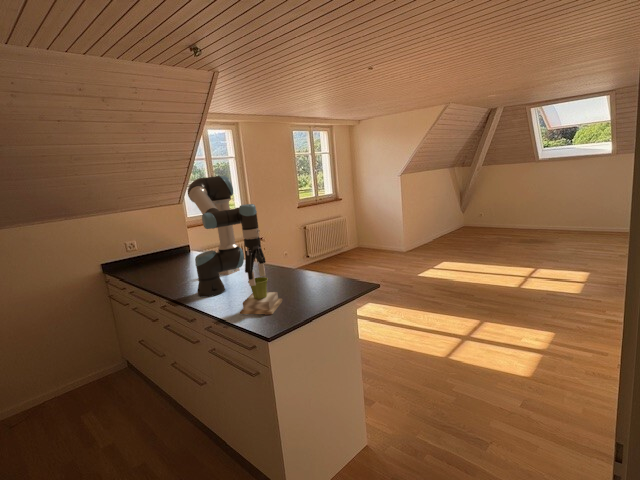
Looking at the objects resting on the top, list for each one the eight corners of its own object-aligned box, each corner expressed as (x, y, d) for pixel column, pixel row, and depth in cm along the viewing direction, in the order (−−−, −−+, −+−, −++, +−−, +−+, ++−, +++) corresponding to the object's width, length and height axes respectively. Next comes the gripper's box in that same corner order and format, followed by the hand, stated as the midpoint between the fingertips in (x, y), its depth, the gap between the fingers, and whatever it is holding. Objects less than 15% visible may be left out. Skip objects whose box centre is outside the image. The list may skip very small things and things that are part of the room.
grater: (239, 270, 250) (235, 242, 246) (228, 274, 242) (224, 245, 238) (229, 269, 256) (224, 241, 252) (217, 273, 247) (213, 245, 243)
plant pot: (251, 295, 180) (249, 278, 178) (270, 292, 180) (268, 276, 179) (249, 301, 171) (247, 284, 169) (269, 299, 171) (267, 281, 169)
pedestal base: (240, 314, 170) (238, 303, 169) (252, 302, 186) (251, 291, 185) (272, 314, 167) (270, 303, 166) (282, 301, 182) (281, 290, 181)
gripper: (249, 243, 157) (255, 289, 161) (268, 231, 181) (273, 272, 185) (232, 244, 158) (240, 290, 163) (253, 232, 182) (259, 272, 187)
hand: (257, 280), depth 174 cm, fingers open, 13 cm apart
